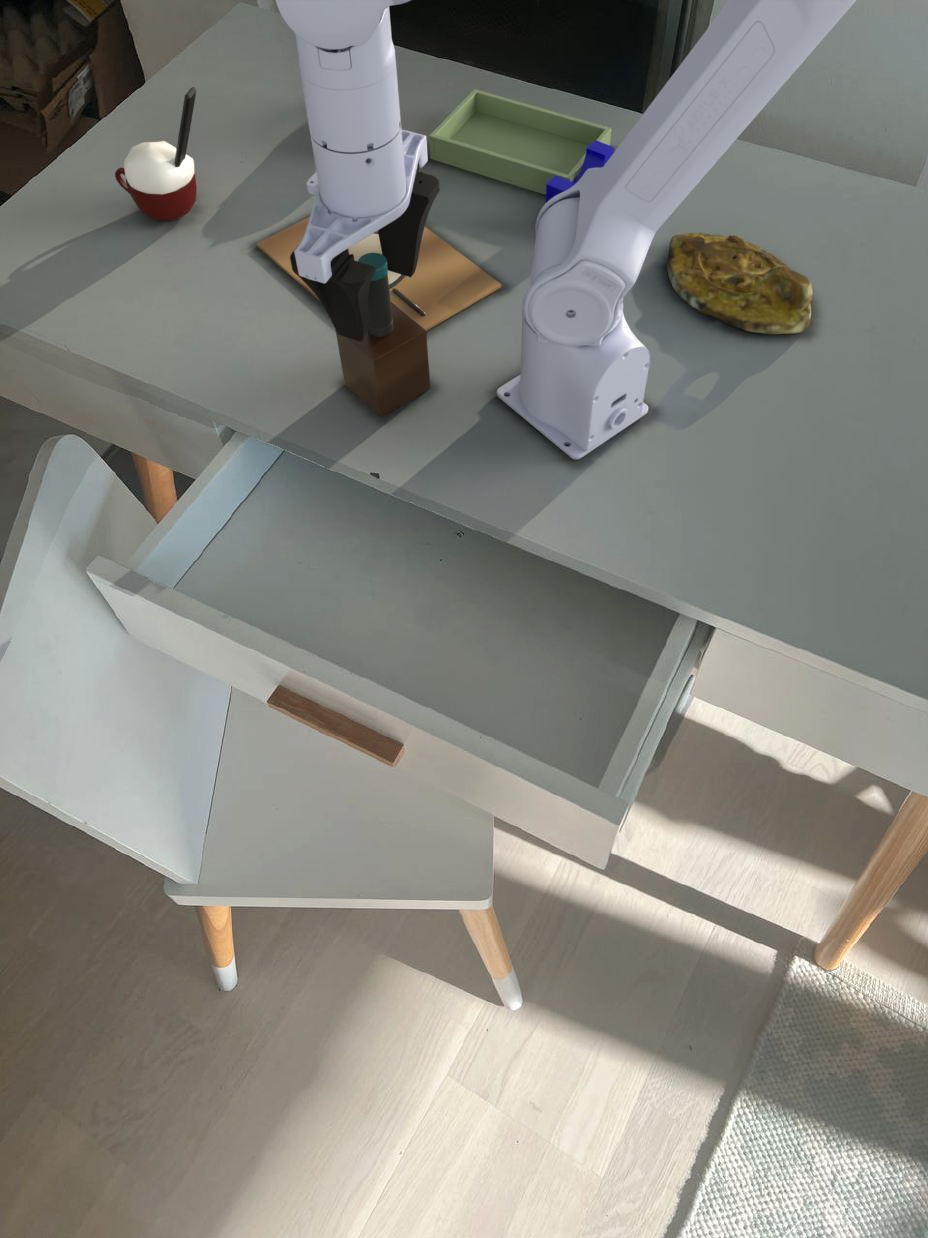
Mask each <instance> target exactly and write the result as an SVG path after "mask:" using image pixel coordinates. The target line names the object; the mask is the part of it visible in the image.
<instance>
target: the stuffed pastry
mask: <svg viewBox="0 0 928 1238" xmlns="http://www.w3.org/2000/svg"><path fill="white" fill-rule="evenodd" d="M668 247H669V249H668V255H667V263H666V270H667V276H668V280H669V282H670V284H671V286H672V288H673V289H674V291H675V293H676V294H677V295H678V296H679V297H680V298H681V299H682V300H683V301H685V302H686V303H687V304H688V305H690V306H691V307H692V308H694V309H696V310H697V311H699V312H700V313H701V314H705V315H708V316H709V317H712V318H715V319H717V320H719V321H721V322H723V323H725V324H727V325H730V326H731V327H735V328H738V329H740V330H743V331H746V332H751V333H758V334H765V335H786V334H787V335H788V334H791V335H792V334H800V333H802V332H805V331H806V330H807V329H808V327H809V325H810V322H811V318H812V308H811V307H812V306H811V301H812V300H813V295H814V294H813V293H814V291H813V282H812V281H810V280H809V279H808V277H806V276H805V275H804V274H801V273H799V272H797V271H795V270H794V269H792V268H791V267H790V266H788V265H787V264H786V263H785V262H783V261H782V260H781V259H780V258H778V257H776V256H775V255H774V254H773V253H771V252H769V251H767V250H765V249H763V248H761V247H760V246H758V245H756V244H753V243H751V242H749V241H745V238H744V237H741V236H738V235H736V234H729V236H727V235H721V234H709V233H702V232H686V233H681V234H680V233H679V234H675V235H674V236H672V238H670V242H669V246H668Z"/></svg>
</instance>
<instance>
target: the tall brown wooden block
mask: <svg viewBox="0 0 928 1238" xmlns="http://www.w3.org/2000/svg"><path fill="white" fill-rule="evenodd" d="M391 309H392V319H393V330H392V332H391V333H390V334H388V335H386V336H383V337H376V336H373V335H371V334H370V333H369V332H368V330H367V333H366V337H365V338H364V339H363V340H362V341H360V342H359V341H356V340H353V339H350V338H347V337H344V336H341V335H338V333H337V331H336V329H335V328H334V329H335V335H336V342H337V348H338V352H339V359H340V364H341V371H342V376H343V382H344V385H345V386H346V387H347V388H348V389H350V391H352V392H353V394H355V395H356V396H357V397H358V398H360V400H361V401H363V402H364V403H365V404H366V405H367V406H368V407H369V409H371V410H372V411H373V412H375V414H377V415H378V416H379V417H380V418H384V417H385V416H387V415H389V414H390V413H392V412H394V411H395V410H397V409H399V408H400V407H402V406H403V405H405V404H407V403H408V402H410V401H412V400H413V399H415V398H417V397H418V396H420V395H421V394H423V393H425V392H426V391H428V390H430V389H431V378H430V377H431V376H430V364H429V350H428V337H427V335H428V334H427V331H426V330H425V329H424V328H423V327H421V326H420V325H419V324H418V323H417V322H415V321H414V320H413V319H412V318H411V317H409V316H408V315H407V314H406V313H405V312H403V311H402V310H401V309H400V308H399V307H397V306H396V305H395V304H394V303H392V302H391Z"/></svg>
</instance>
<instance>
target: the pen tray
mask: <svg viewBox="0 0 928 1238" xmlns="http://www.w3.org/2000/svg"><path fill="white" fill-rule="evenodd" d="M611 137H612V128H611V127H609V126H605V125H602V124H598V123H595V122H591V121H588V120H585V119H581V118H577V117H573V116H570V115H568V114H567V115H566V114H563V113H560V112H557V111H553V110H551V109H550V110H549V109H546V108H542V107H538V106H535V105H532V104H528V103H525V102H523V101H517V100H515V99H511V98H507V97H504V96H500V95H497V94H493V93H489V92H487V91H483V90H480V89H476V88H474V89H473V90H472V91H471V92H470V93H469V94H468V95H467V96H466V97H465V98H464V99H463V100H462V101H461V102H460V103H459V104H457V106H456V107H455V108H454V109H453V110H452V111H451V112H450V113H449V114H448V115H447V116H446V118H445V119H444V120H442V121H441V123H439V125H438V126H437V127H435V129H434V130H433V131H432V132H431V133H430V134H429V135H428V141H429V142H428V144H429V145H428V146H429V159H430V160H433V161H435V162H439V163H443V164H445V165H448V166H452V167H456V168H459V169H462V170H465V171H468V172H471V173H473V174H474V173H475V174H477V175H481V176H484V177H487V178H490V179H493V180H496V181H500V182H503V183H507V184H508V185H513V186H515V187H519V188H522V189H525V190H528V191H532V192H536V193H538V194H540V195H541V194H542V195H545V196H546V184H547V183H548V182H549V181H550V180H551V179H553V178H554V177H555V176H558V177H561V178H563V179H566V180H568V181H570V182H573V183H574V181H575V180H576V178H577V176H578V175H579V173H580V170H581V168H582V165H583V163H584V159H585V155H586V149H587V147H588V146H589V145H591V144H592V143H593V142H594V141H595V140H597V141H599V142H602V143H604V144H607V145H610V146H611Z"/></svg>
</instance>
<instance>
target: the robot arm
mask: <svg viewBox="0 0 928 1238" xmlns="http://www.w3.org/2000/svg"><path fill="white" fill-rule="evenodd" d="M410 1H412V0H275V4H276V6H277V10H278V11H279V13H280V15H281V17H282V19H283V21H284V22H285V23H286V25H287V26H288V27H289V28H290V30H291V31H293V32H294V36H295V43H296V48H297V62H298V67H299V74H300V81H301V87H302V93H303V99H304V105H305V111H306V117H307V123H308V130H309V133H310V140H311V147H312V152H313V153H312V154H313V159H314V160H313V161H314V165H315V172H314V173H313V174H312V175H311V176H310V177H309V178H308V180H306V183H305V185H306V190H307V193H308V194H310V195H312V196H315V198H314V201H313V205H312V209H311V212H310V214H309V217H310V218H309V222H308V225H307V228H306V232H305V234H304V237H303V239H302V241H301V243H300V244H299V245H298V246H297V248H296V249H295V250H294V251H293V252H292V253H291V255H290V261H291V266H292V270H293V272H294V273H295V274H296V275H297V276H299V277H300V278H301V279H302V280H303V281H304V282H305V283H306V284H307V285H308V286H309V287H310V288H311V290H312V291H313V292H314V293H315V295H316V296H317V297H318V299H319V300H320V301H319V300H318V299H317V300H318V301H319V302H320V303H321V305H322V307H323V308H324V310H325V312H326V313H327V315H328V317H329V319H330V321H331V324H332V325H333V327H334V329H336V330H335V332H336V331H337V333H338V335H341V336H344V337H347V338H350V339H353V340H356V341H359V342H360V341H362V340H363V339H364V338H365V337H366V333H367V328H368V313H367V300H368V292H369V286H370V283H371V279H372V277H373V274H374V272H375V270H376V268H377V267H374V266H371V265H368V264H364V263H361V262H358V261H355V260H354V255H353V254H351V255H350V254H349V250H348V248H350V247H351V246H353V245H355V244H356V243H358V242H360V241H361V240H363V239H364V238H366V237H368V236H369V235H371V234H373V233H374V232H376V231H378V234H379V240H380V245H381V250H382V255H383V256H385V258H386V259H387V266H388V271H391V272H395V273H398V274H401V275H405V276H408V277H412V276H413V274H414V273H415V270H416V266H417V262H418V256H419V251H420V245H421V240H422V235H423V231H424V227H426V223H427V220H428V218H429V214H430V211H431V209H432V206H433V204H434V202H435V200H436V198H437V196H438V194H439V192H440V190H441V188H440V180H439V178H438V177H436V176H435V175H433V174H429V173H426V172H422V171H420V169H421V168H423V167H424V166H425V165H426V164H427V162H428V161H429V160H428V159H429V158H428V141H427V135H425V134H421V133H417V132H414V131H411V130H406V129H402V119H401V107H400V95H399V94H400V93H399V83H398V71H397V60H396V50H395V45H394V42H393V39H392V38H393V37H392V25H391V13H390V7H391V6H397V5H403V4H406V3H408V2H410ZM855 2H857V0H728V1H727V2H726V3H725V5H724V6H723V7H722V9H721V11H719V13H718V14H717V16H716V17H715V18H714V20H713V21H712V22H711V23H710V25H709V26H708V27H707V29H706V30H705V31H704V33H703V34H702V35H701V37H700V38H699V39H698V41H697V42H696V43H695V45H694V46H693V47H692V49H691V50H690V51H689V53H688V54H687V55H686V56H685V58H684V59H683V60H682V62H681V63H680V65H679V66H678V67H677V68H676V70H675V71H674V73H673V74H672V75H671V76H670V78H669V79H668V80H667V82H666V83H665V84H664V86H663V87H662V88H661V90H659V92H658V94H656V96H655V98H653V100H652V102H651V103H650V104H649V106H647V108H646V110H645V111H644V112H643V114H642V115H641V116H640V117H639V118H638V120H637V121H636V123H635V124H634V125H633V127H632V128H631V130H630V131H629V132H628V133H627V135H626V136H625V138H624V139H623V140H622V141H621V143H620V144H619V145H618V147H617V148H616V149H615V150H614V153H613V155H612V156H611V157H610V159H609V160H608V161H607V163H606V164H605V165H604V167H602V168H590V169H588V170H586V172H585V173H584V174H583V176H582V177H581V178H580V180H579V181H578V182H577V183H576V184H575V185H574V186H573V187H571V188H570V189H568V190H566V191H564V192H562V193H560V194H558V195H556V196H554V197H553V198H551V199H550V200H549V201H548V202H547V203H546V204H545V203H544V205H542V207H541V209H540V211H539V213H538V215H537V217H536V221H535V228H534V230H535V242H534V243H535V244H534V250H533V251H534V252H533V258H532V263H531V265H532V266H531V273H530V278H529V287H528V288H527V290H526V291H525V293H524V295H523V298H522V308H521V309H522V311H521V312H522V313H521V341H520V343H521V344H520V345H521V346H520V347H521V348H520V354H521V355H520V374H519V375H517V376H516V377H514V378H512V379H511V380H509V381H507V382H506V383H504V384H503V385H501V386H500V387H498V388H497V389H496V396H497V397H498V399H500V400H501V401H502V402H504V403H505V404H506V405H507V406H508V407H510V408H511V409H512V410H513V411H514V412H516V414H518V415H519V416H520V417H522V418H523V419H524V420H525V421H527V422H528V423H529V424H530V425H531V426H533V428H534V429H536V430H537V431H538V432H539V433H541V434H542V435H543V436H544V437H546V438H547V439H548V440H549V441H550V442H551V443H553V444H554V445H555V446H557V447H558V448H559V449H560V450H561V451H562V452H564V453H565V454H566V455H567V456H568V457H569V458H571V459H572V460H580V459H582V458H583V457H585V456H586V455H588V454H589V453H591V452H592V451H594V450H595V449H597V448H598V447H599V446H601V445H602V444H604V443H605V442H607V441H608V440H610V439H611V438H613V437H614V436H616V435H617V434H618V433H620V432H622V431H623V430H624V429H626V428H628V427H629V426H630V425H632V424H634V423H635V422H637V421H638V420H639V419H641V418H643V417H644V416H645V415H646V414H648V413H649V406H648V404H646V403H645V402H644V400H645V393H646V389H647V388H646V387H647V381H648V376H649V370H650V366H651V354H650V352H649V350H648V348H647V347H646V346H645V345H644V344H643V342H641V341H640V340H639V339H638V338H637V336H636V335H635V334H634V332H633V331H632V330H631V328H630V326H629V324H628V322H627V320H626V318H625V314H624V297H625V296H626V294H627V293H628V292H629V291H630V290H631V288H633V286H634V285H635V284H636V282H637V280H638V278H639V275H640V272H641V270H642V267H643V265H644V262H645V259H646V257H647V254H648V252H649V249H650V247H651V244H652V242H653V239H654V237H655V235H656V233H657V232H658V231H659V229H660V228H661V227H662V226H663V225H664V224H665V222H666V221H667V220H668V219H669V218H670V217H671V215H672V214H673V213H674V212H675V211H676V209H677V208H678V207H679V206H680V205H681V203H682V202H683V201H684V200H686V198H687V197H688V196H689V194H690V193H691V192H692V191H693V190H694V189H695V188H696V187H697V186H698V184H699V183H700V182H701V181H702V179H703V178H704V177H705V176H706V175H707V174H708V172H709V171H710V170H711V169H712V168H713V167H714V166H715V164H717V162H718V161H719V160H720V158H721V157H722V156H723V155H724V154H725V153H726V152H727V150H728V149H729V148H730V147H731V146H732V145H733V144H734V142H735V141H737V139H738V137H740V136H741V134H742V133H743V132H744V131H745V130H746V128H748V127H749V125H750V124H751V123H752V122H753V120H754V119H755V118H756V117H757V116H758V115H759V113H761V111H762V110H763V109H764V108H765V107H766V105H767V104H768V103H769V102H770V101H771V100H772V99H773V97H774V96H775V95H776V94H777V93H778V92H779V91H780V89H781V88H782V87H783V86H784V84H785V83H786V82H787V81H788V80H789V79H790V78H791V76H793V74H794V73H795V72H796V71H797V70H798V68H799V67H800V66H801V65H802V64H803V63H804V61H805V60H806V59H808V57H809V56H810V55H811V53H813V51H814V50H815V49H816V47H817V46H819V44H820V43H821V42H822V41H823V39H825V37H826V36H827V35H828V34H829V33H830V32H831V30H832V29H833V28H834V27H835V26H836V24H838V22H839V21H840V20H841V19H842V17H844V15H845V14H846V13H847V12H848V11H849V9H851V7H852V6H853V5H854V4H855Z"/></svg>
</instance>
